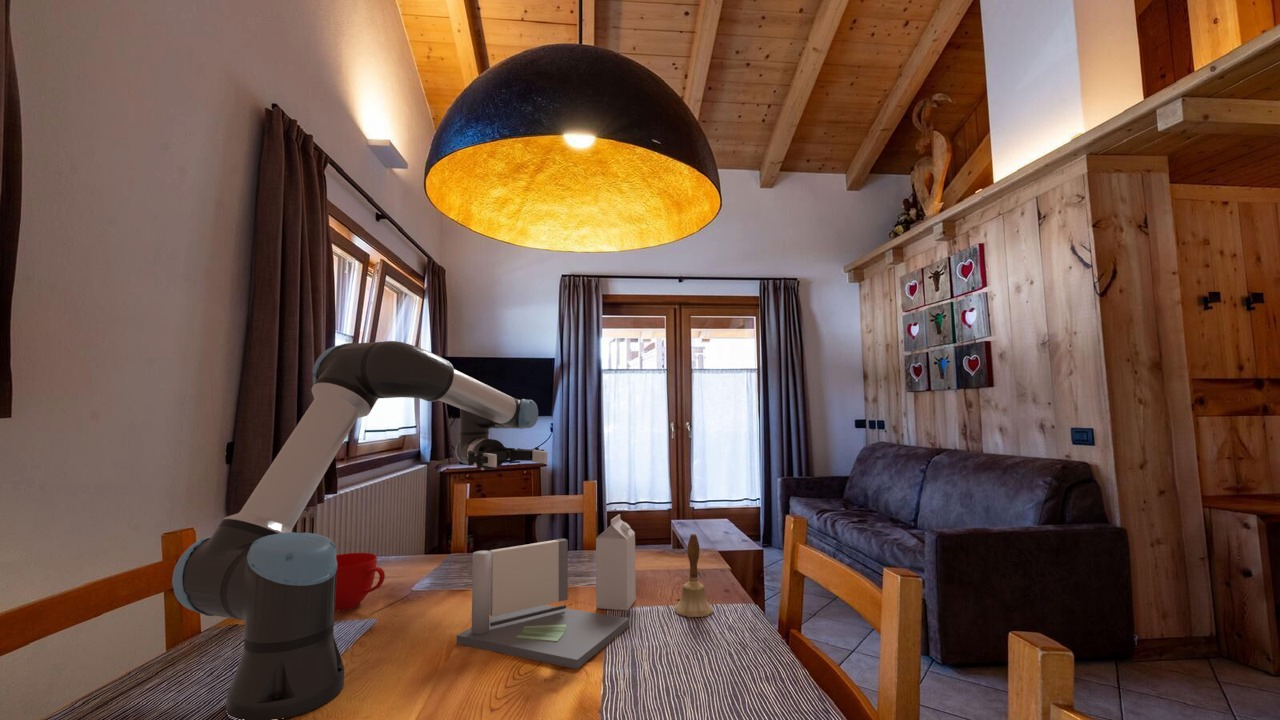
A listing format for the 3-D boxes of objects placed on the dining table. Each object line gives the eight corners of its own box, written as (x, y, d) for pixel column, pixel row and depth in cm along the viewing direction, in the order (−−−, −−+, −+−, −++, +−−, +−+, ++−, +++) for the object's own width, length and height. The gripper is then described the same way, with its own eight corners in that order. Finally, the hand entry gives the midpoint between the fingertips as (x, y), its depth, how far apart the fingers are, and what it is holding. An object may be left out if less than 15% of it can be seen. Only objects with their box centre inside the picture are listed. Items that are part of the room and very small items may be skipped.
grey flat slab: (577, 669, 92) (577, 658, 92) (456, 643, 102) (456, 634, 102) (629, 626, 110) (629, 617, 110) (522, 608, 120) (522, 600, 121)
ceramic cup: (359, 621, 114) (361, 571, 115) (295, 613, 119) (297, 565, 120) (402, 600, 126) (404, 555, 127) (342, 594, 131) (344, 551, 132)
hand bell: (712, 604, 121) (711, 530, 123) (713, 618, 113) (712, 539, 115) (674, 603, 122) (673, 530, 124) (673, 617, 114) (672, 538, 116)
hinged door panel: (474, 636, 102) (476, 555, 103) (469, 630, 104) (470, 552, 106) (569, 612, 113) (569, 540, 114) (561, 608, 116) (562, 537, 117)
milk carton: (596, 609, 119) (595, 519, 121) (605, 598, 126) (605, 513, 128) (627, 611, 118) (626, 520, 120) (635, 600, 125) (635, 514, 126)
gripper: (529, 465, 148) (568, 472, 130) (438, 472, 134) (468, 480, 116) (530, 437, 149) (568, 440, 131) (439, 440, 135) (468, 444, 117)
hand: (521, 459), depth 124 cm, fingers open, 11 cm apart
